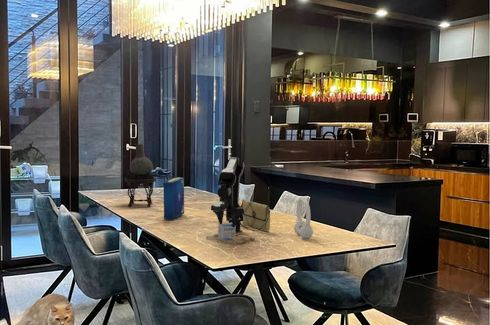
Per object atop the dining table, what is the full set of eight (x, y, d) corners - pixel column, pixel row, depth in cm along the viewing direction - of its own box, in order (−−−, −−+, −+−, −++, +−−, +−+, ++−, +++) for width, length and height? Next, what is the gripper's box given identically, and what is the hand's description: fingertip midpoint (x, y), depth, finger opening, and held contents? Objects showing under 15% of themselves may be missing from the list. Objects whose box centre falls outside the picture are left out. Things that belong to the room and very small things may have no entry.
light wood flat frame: (225, 235, 253) (225, 231, 253) (254, 242, 239) (255, 238, 239) (206, 239, 243) (206, 236, 243) (235, 247, 229) (235, 243, 229)
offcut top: (242, 238, 240) (242, 234, 240) (249, 240, 237) (249, 236, 237) (232, 241, 235) (232, 237, 235) (239, 242, 232) (239, 238, 231)
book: (173, 220, 292) (173, 180, 290) (162, 220, 294) (162, 180, 292) (184, 214, 313) (184, 177, 311) (174, 214, 315) (174, 176, 313)
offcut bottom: (241, 242, 240) (241, 238, 240) (249, 244, 237) (249, 240, 237) (232, 245, 235) (232, 241, 235) (239, 246, 232) (239, 242, 232)
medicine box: (222, 242, 239) (223, 225, 238) (218, 240, 242) (218, 223, 242) (235, 240, 243) (235, 223, 243) (230, 238, 247) (230, 222, 246)
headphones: (304, 232, 262) (305, 197, 261) (314, 240, 244) (315, 202, 243) (292, 233, 261) (293, 197, 260) (301, 241, 243) (302, 202, 242)
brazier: (149, 208, 338) (149, 145, 335) (119, 206, 341) (119, 144, 338) (160, 203, 360) (160, 144, 357) (132, 202, 364) (131, 143, 360)
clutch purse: (234, 224, 283) (234, 199, 282) (244, 223, 287) (244, 199, 286) (261, 234, 258) (262, 207, 257) (272, 233, 261) (272, 206, 260)
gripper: (203, 195, 242) (203, 225, 243) (229, 199, 229) (229, 231, 230) (218, 193, 250) (218, 222, 251) (244, 197, 237) (244, 227, 238)
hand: (227, 225), depth 242 cm, fingers open, 9 cm apart
